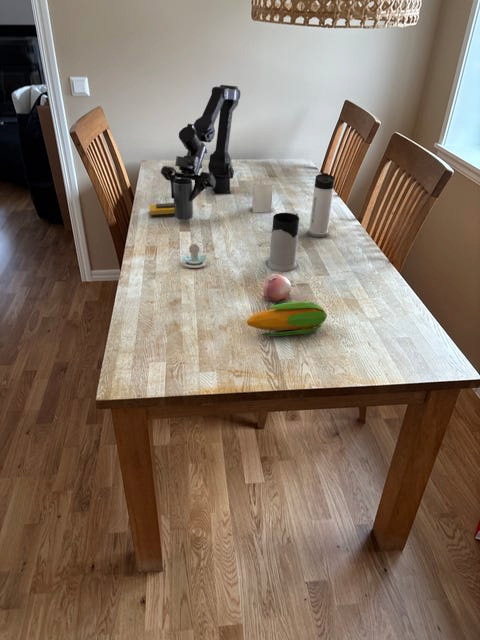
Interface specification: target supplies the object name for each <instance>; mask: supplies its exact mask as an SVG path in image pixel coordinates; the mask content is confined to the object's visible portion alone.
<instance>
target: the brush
mask: <svg viewBox="0 0 480 640" xmlns="http://www.w3.org/2000/svg"><path fill="white" fill-rule="evenodd" d="M149 212H150V215H151V218H165V217H167V218H168V217H175V215H174V202H168V203H167V202H166V203H155V204H149Z"/></svg>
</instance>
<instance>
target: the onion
mask: <svg viewBox="0 0 480 640" xmlns="http://www.w3.org/2000/svg"><path fill="white" fill-rule="evenodd" d="M291 290H292V285H291V281H290V280H289V279H288V277H286V276H284V275H282V274H278V273H273V274H269V275H267V276H266V277H265V279H264V281H263V284H262V291H263V295H264V297H265V298H266V299H267V300H268V301H270V302H271V303H275V304H277V303H278V304H281V303H284V302H285V301H286V300H287V299H288V298H290V297H291V294H290V293H291Z"/></svg>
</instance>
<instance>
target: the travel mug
mask: <svg viewBox="0 0 480 640" xmlns="http://www.w3.org/2000/svg"><path fill="white" fill-rule="evenodd" d="M335 181H336V177H335V176H333V175H332V174H329V173H328V172H322V173H319V174H317V175H316V176H315V180H314V185H313V186H314V188H313V195H312V204H311V212H310V221H309V229H308V234H309V235H310V236H312V237H314V238H324V237H327V236H328V232H329V227H330V226H329V225H330V219H331V217H330V216H331V211H332V204H333V196H334V189H335Z"/></svg>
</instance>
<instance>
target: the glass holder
mask: <svg viewBox="0 0 480 640" xmlns="http://www.w3.org/2000/svg"><path fill="white" fill-rule="evenodd" d="M272 216H273V217H272V227H271V232H270V233H271V236H270V237H271V238H270V249H269V259H268V261H267V265H268V267H269V268H271V269H272V270H275V271H279V272H289V271H292V270H294V269H295V268H297V265H298V264H297V261H296V259H297V251H298V250H297V249H298V241H299V226H300V217H299V214H298V212H296V211H295V212H293V213H291V212H278V213H275V214H274V215H272Z"/></svg>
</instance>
